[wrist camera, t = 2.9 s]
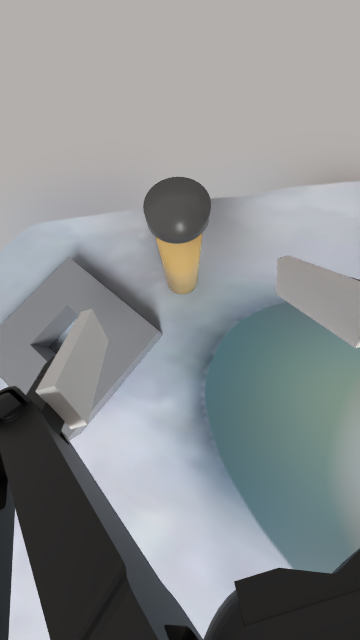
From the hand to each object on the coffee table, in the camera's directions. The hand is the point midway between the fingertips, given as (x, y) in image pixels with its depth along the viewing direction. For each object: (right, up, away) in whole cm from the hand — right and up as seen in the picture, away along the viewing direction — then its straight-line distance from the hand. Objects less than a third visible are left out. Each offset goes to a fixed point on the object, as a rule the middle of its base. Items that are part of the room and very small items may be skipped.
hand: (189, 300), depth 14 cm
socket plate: (-14, -5, +13) cm, 20 cm away
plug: (0, +4, +15) cm, 16 cm away
